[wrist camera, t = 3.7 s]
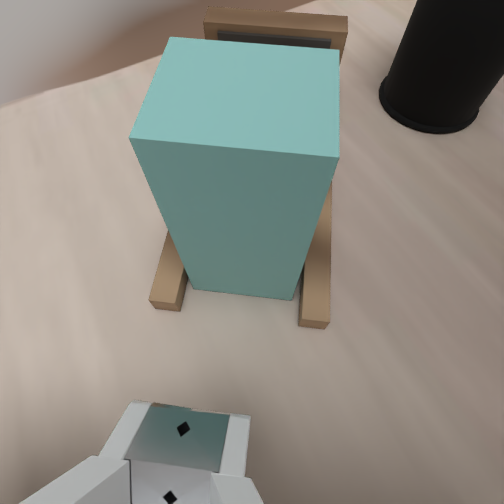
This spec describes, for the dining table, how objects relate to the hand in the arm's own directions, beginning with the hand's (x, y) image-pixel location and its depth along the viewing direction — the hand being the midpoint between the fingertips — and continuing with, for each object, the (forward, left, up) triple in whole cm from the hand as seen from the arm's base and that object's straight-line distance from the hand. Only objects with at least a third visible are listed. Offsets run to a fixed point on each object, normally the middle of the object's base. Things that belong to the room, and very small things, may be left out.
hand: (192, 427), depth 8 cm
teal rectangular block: (-5, -8, -9) cm, 13 cm away
